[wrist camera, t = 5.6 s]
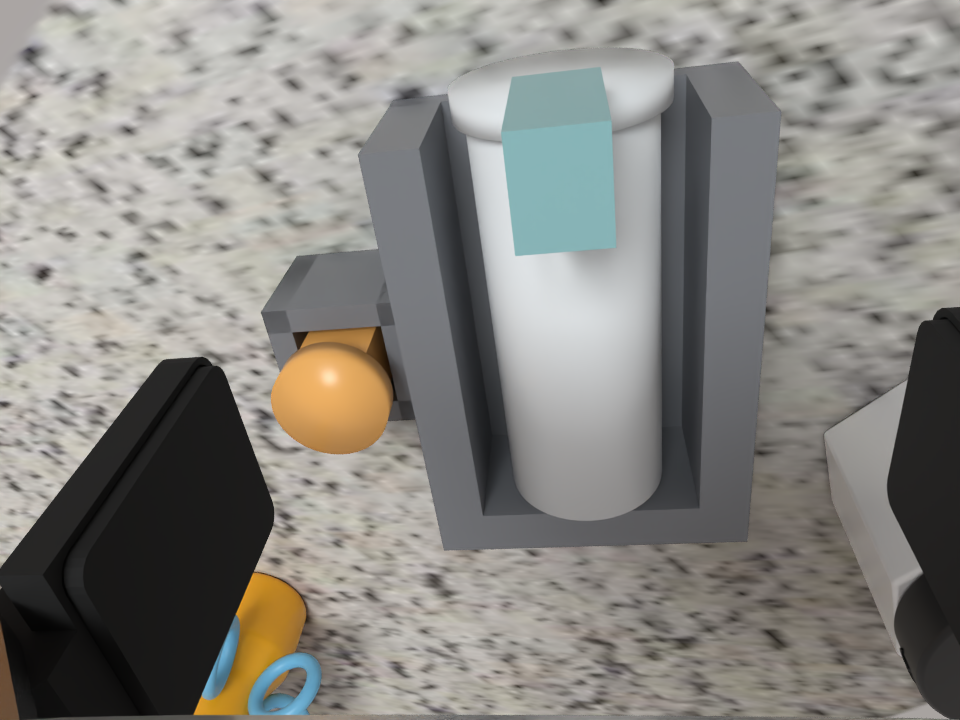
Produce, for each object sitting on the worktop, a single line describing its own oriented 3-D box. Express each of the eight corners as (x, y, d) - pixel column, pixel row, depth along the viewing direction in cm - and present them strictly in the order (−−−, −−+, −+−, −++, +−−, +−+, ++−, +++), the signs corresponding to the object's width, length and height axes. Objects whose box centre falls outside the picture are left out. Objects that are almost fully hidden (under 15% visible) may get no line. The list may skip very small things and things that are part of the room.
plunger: (405, 270, 33) (374, 355, 27) (422, 356, 35) (397, 451, 30) (306, 278, 34) (256, 363, 28) (330, 363, 36) (288, 456, 30)
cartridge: (660, 8, 27) (726, 108, 16) (661, 413, 36) (704, 642, 26) (455, 33, 28) (394, 143, 17) (508, 421, 37) (490, 645, 27)
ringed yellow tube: (337, 676, 51) (266, 943, 39) (181, 648, 51) (59, 907, 38) (352, 550, 44) (272, 824, 32) (171, 517, 44) (20, 780, 32)
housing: (738, 61, 28) (781, 110, 23) (720, 443, 38) (747, 541, 33) (257, 115, 31) (194, 171, 26) (354, 460, 41) (323, 553, 35)
